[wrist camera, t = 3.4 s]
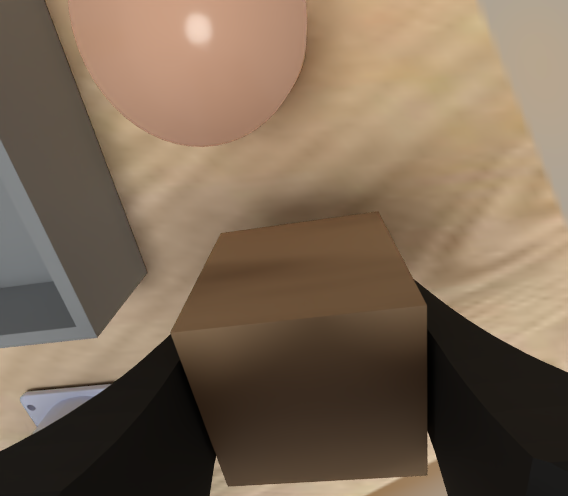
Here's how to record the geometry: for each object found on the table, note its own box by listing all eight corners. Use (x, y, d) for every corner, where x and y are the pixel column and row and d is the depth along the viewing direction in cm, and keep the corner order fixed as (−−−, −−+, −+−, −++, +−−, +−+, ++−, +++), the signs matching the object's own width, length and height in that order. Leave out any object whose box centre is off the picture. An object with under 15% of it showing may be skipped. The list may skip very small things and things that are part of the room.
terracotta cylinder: (314, 102, 15) (321, 127, 8) (195, 123, 15) (119, 161, 9) (295, -53, 13) (285, -171, 6) (157, -21, 13) (23, -102, 7)
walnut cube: (386, 339, 13) (427, 475, 9) (252, 352, 14) (228, 486, 10) (378, 211, 11) (426, 305, 7) (220, 233, 12) (170, 332, 7)
